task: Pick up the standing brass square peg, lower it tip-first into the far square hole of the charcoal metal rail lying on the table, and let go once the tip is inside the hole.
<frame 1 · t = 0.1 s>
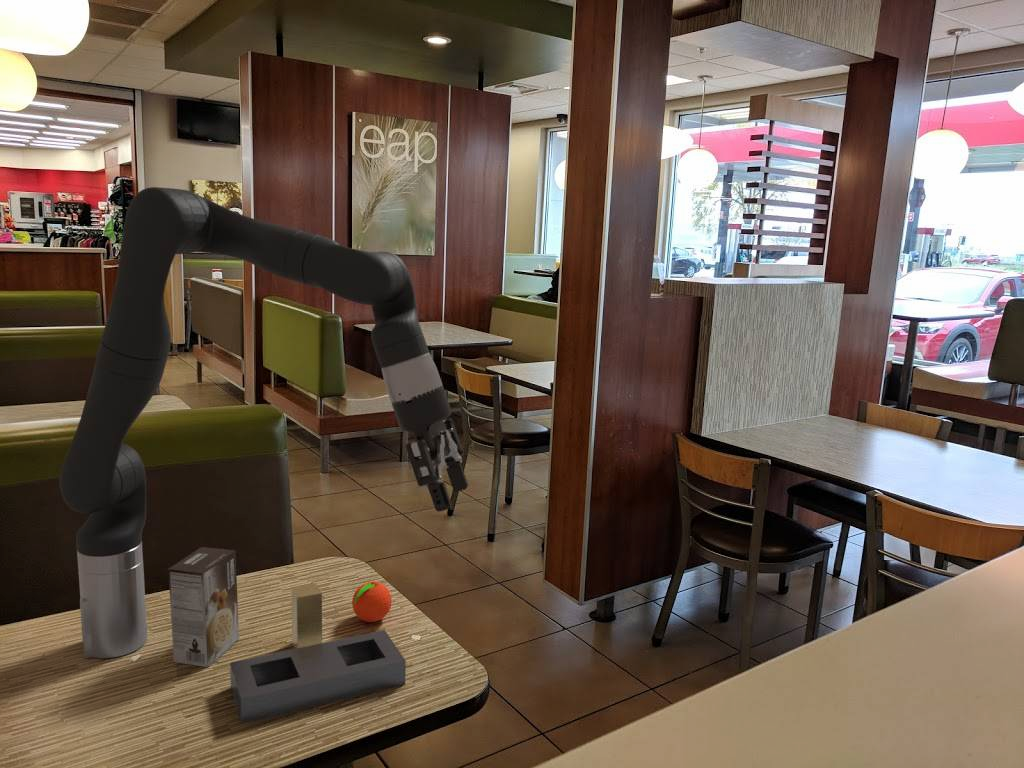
hand: (453, 499, 109), 31 cm above the table, tool tilted 20°, fingers open, 8 cm apart
peg: (307, 646, 128), on the table
coffee box: (207, 652, 125), on the table
rail: (319, 685, 117), on the table
clementine: (369, 622, 137), on the table
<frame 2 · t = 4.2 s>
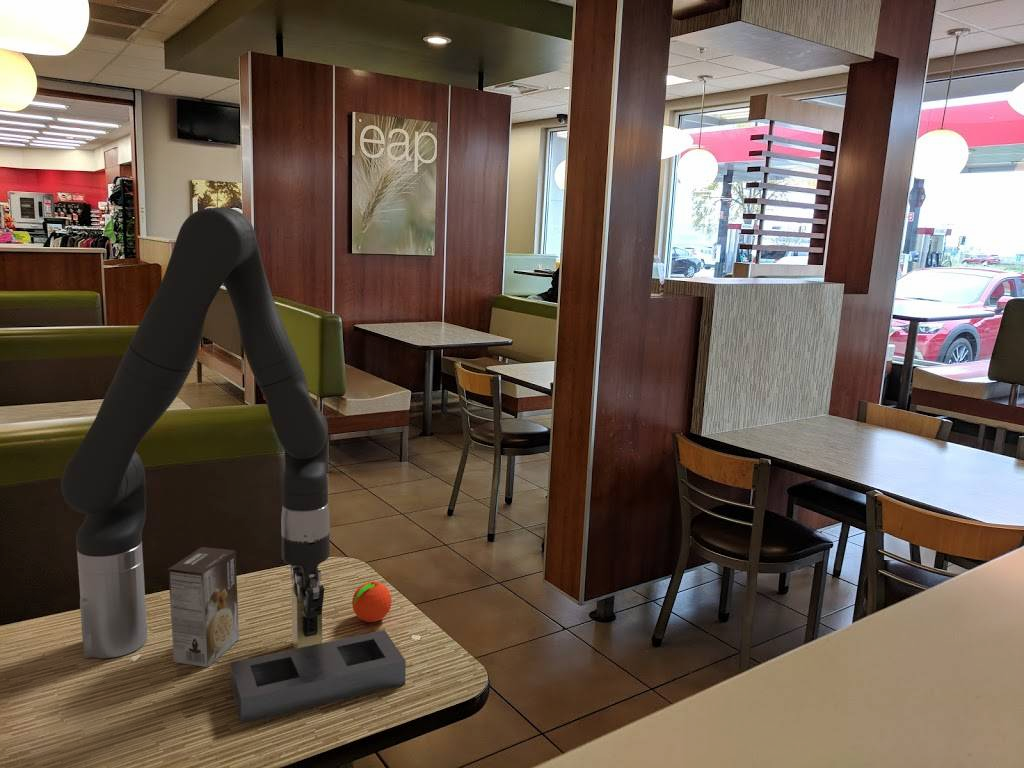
hand: (307, 627, 127), 3 cm above the table, tool pointing down, fingers closed on peg, 4 cm apart
peg: (307, 645, 128), on the table, touching gripper
everything else where it was.
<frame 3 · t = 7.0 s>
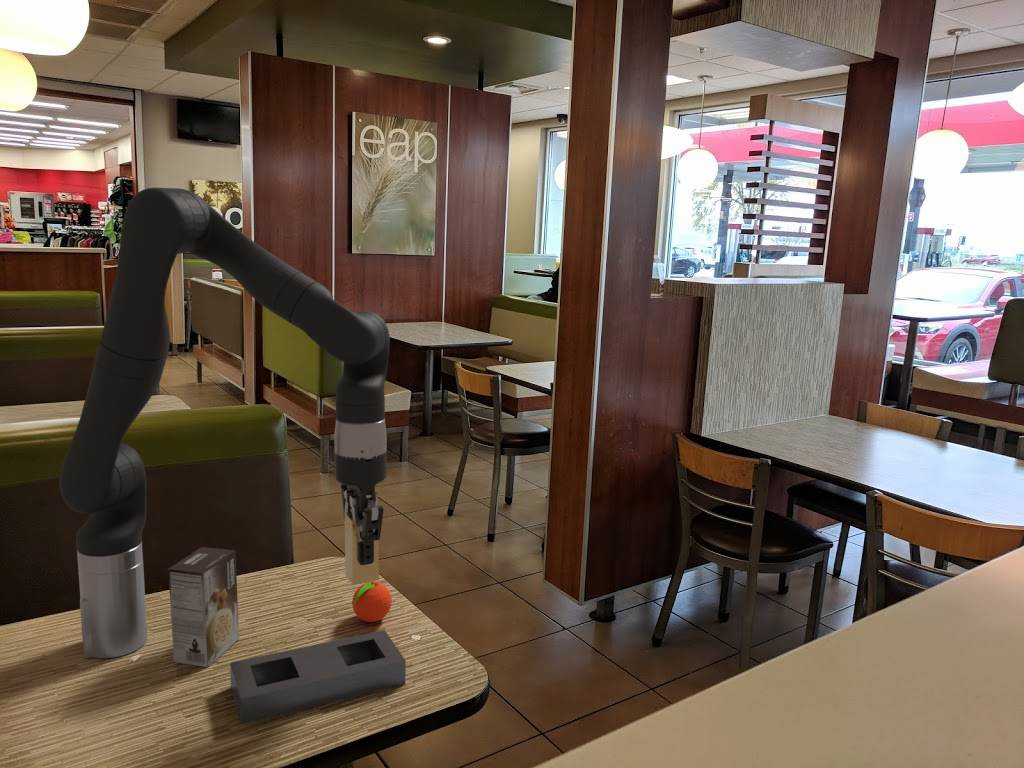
hand: (361, 557, 117), 20 cm above the table, tool pointing down, fingers closed on peg, 4 cm apart
peg: (362, 577, 117), point 16 cm above the table, touching gripper
everything else where it was.
when the fingers open (6 cm above the table, at t = 10.1 s): peg drops 2 cm, resting in rail.
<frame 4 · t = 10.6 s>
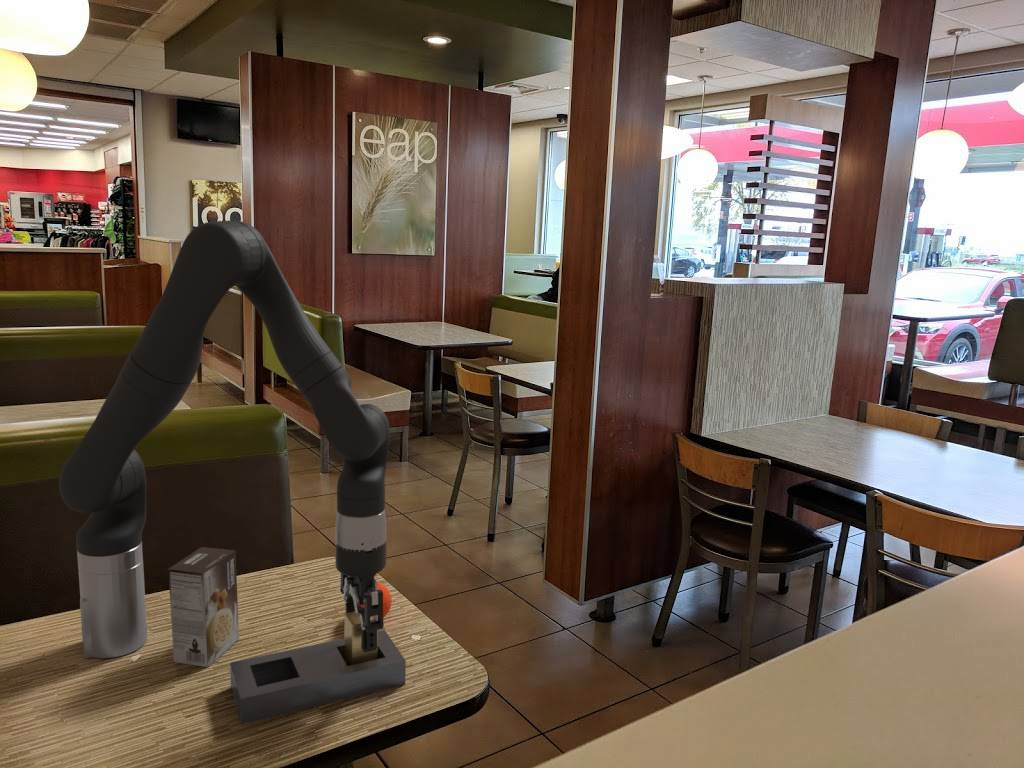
hand: (360, 636, 119), 7 cm above the table, tool pointing down, fingers open, 8 cm apart
peg: (360, 675, 120), resting in rail
everything else where it was.
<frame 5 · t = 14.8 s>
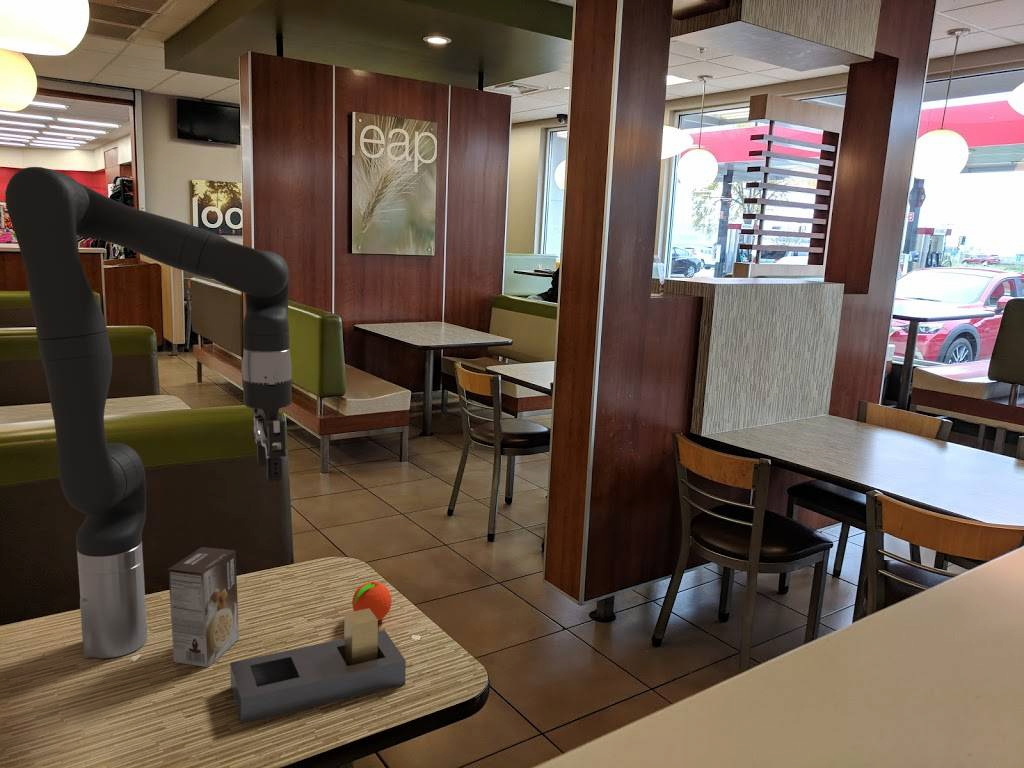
hand: (269, 472, 128), 28 cm above the table, tool pointing down, fingers open, 8 cm apart
nothing on the table moved.
at the end: peg 0.0 cm from the target spot on the rail, point 0.0 cm above the rail's base; peg tilted 0°; the gripper is holding nothing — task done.
